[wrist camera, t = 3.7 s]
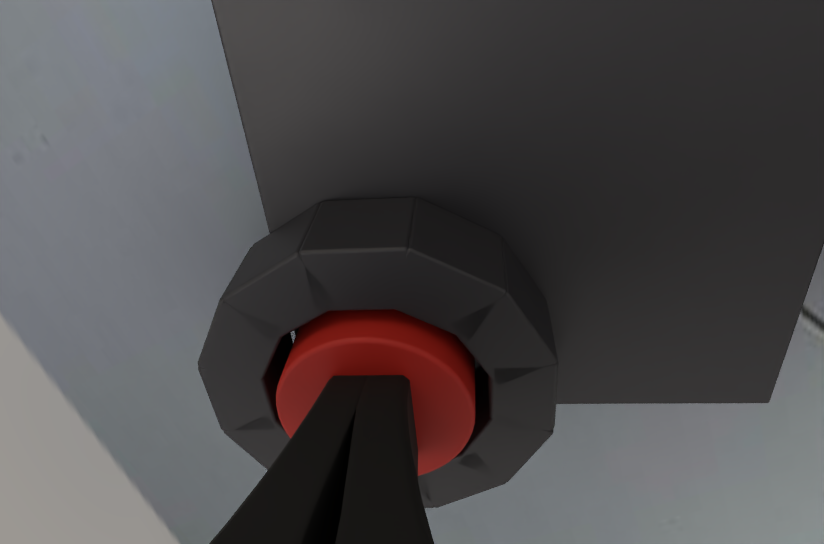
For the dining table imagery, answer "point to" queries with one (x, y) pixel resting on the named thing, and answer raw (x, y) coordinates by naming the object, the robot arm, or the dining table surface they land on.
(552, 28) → the button block
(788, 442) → the dining table surface
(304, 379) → the button
